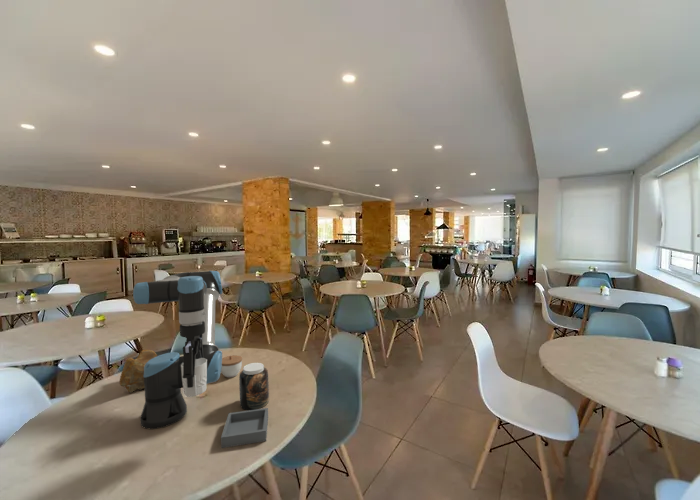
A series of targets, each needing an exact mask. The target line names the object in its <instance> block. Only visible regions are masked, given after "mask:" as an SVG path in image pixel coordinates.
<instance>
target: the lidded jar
mask: <svg viewBox="0 0 700 500" xmlns="http://www.w3.org/2000/svg"><path fill="white" fill-rule="evenodd" d="M242 368H243V356H240V355H228V356H227V355H226V356H225V357H222V367H221V373H220V374H222V375H223V376H224V377H225V378H233V377H236V376H238V374H240V372H241V371H242Z"/></svg>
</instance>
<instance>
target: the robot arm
mask: <svg viewBox="0 0 700 500" xmlns="http://www.w3.org/2000/svg"><path fill="white" fill-rule="evenodd" d="M132 291H133V292H132V295H133V301H134V303H135V304H137V305H149V304H151V305H152V304H159V303H161V304H162V303H172V302H178V322H179V324H180V325H179V335H180V337H182V338H185V339H186V341H185V343H184V346H183V347H182V353H183V354H182V356H181V354H180V353H179V352H176V351H175V352H174V351H171V352H166V353H163V354H159V355H157V357H154V358H152V359H151V360H149V361H148V362H147V363H146V364H145V366H144V375H143V377H144V387H145V388H144V401H145V402H144V404H143V408H142V411H141V415H140V417H139V418H140V419H139V420H140V426H141V427H142V426H143V427H145V428H144V429H147V428H150V429H149V430H153V429H154V430H155V429H160V428H164V427H168V426H170V425H173V424H175V423H177V422H178V421H180V420H182V419H183V418H184V417H185V416H186V415H187V412H188V409H187V403H186V401H185V398H184V396H183V394H182V389H183V382H182V374H181V364H182V363H183V378H186V391H187V396H186V398H187V397H188V398H189V397H190V398H191V397H196V375H195V359H199V358H205V359H207V382H206V385H208V384H211V383H215V382H217V381H218V380H219V379H220V377H221V374H222V373H221V367H222V358H223V351H222V350H220V349H219V347H218V345H216V342H215V341H216V301H217V300H218V299H219V298H220V295H222V294H223V286H222V279H221V273H220V272H219V271H217V270H208V271H186V272H180V273H176V274H175V273H174V274H171V275H167V276H166V277H164V278H163V279H159V280H155V281H144V282H137V283H135V284H134V287H133V289H132ZM143 427H142V428H143Z"/></svg>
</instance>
